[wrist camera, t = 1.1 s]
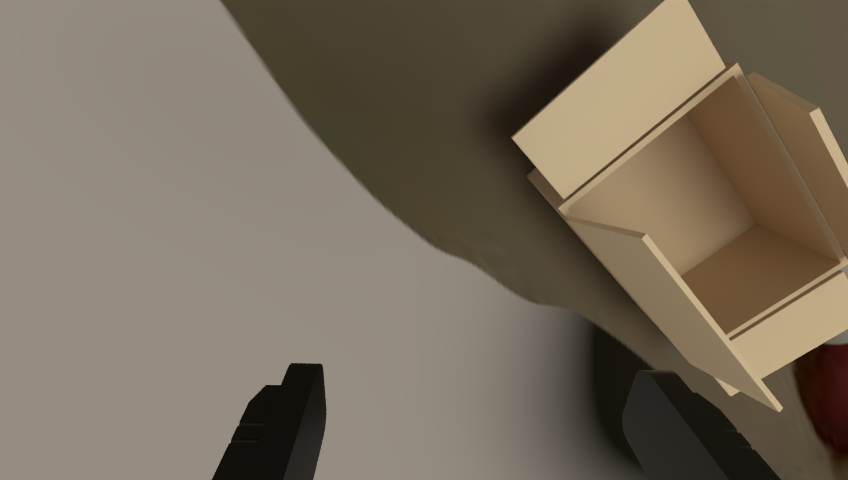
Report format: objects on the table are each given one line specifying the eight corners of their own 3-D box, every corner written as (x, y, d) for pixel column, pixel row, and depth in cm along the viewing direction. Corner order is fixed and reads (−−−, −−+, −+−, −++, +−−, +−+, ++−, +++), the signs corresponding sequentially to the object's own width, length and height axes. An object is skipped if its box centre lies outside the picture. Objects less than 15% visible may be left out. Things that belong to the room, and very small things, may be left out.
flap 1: (646, 233, 22) (641, 238, 22) (783, 408, 28) (779, 412, 28) (570, 216, 29) (566, 220, 29) (693, 360, 34) (690, 363, 34)
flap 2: (921, 331, 25) (930, 329, 25) (809, 113, 20) (819, 107, 19) (850, 262, 31) (857, 260, 31) (746, 76, 25) (753, 71, 25)
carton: (617, -1, 32) (690, -23, 23) (784, 261, 42) (877, 311, 33) (482, 125, 35) (503, 145, 27) (666, 338, 45) (723, 400, 37)
